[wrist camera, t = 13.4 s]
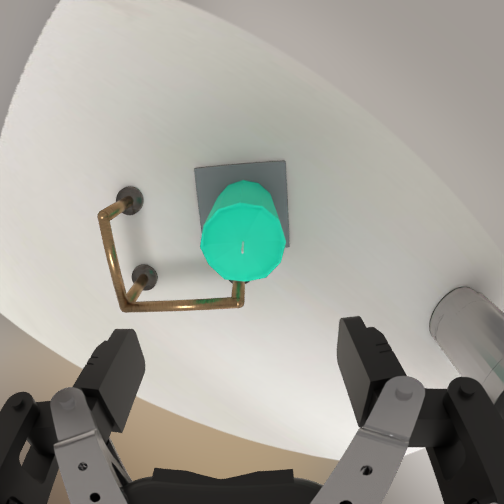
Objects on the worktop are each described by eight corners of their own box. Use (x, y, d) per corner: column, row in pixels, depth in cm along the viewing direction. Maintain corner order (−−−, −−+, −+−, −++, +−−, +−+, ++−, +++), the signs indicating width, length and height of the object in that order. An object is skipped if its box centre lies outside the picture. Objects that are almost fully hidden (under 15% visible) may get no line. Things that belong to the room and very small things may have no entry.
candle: (212, 182, 30) (191, 210, 19) (273, 178, 30) (288, 204, 19) (217, 239, 33) (201, 295, 21) (275, 236, 33) (289, 291, 21)
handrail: (245, 173, 31) (244, 184, 24) (254, 281, 35) (255, 318, 28) (116, 188, 31) (83, 204, 24) (136, 288, 35) (114, 322, 28)
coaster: (284, 160, 30) (285, 161, 30) (288, 245, 34) (289, 247, 33) (195, 168, 30) (194, 168, 30) (205, 251, 34) (204, 253, 33)
